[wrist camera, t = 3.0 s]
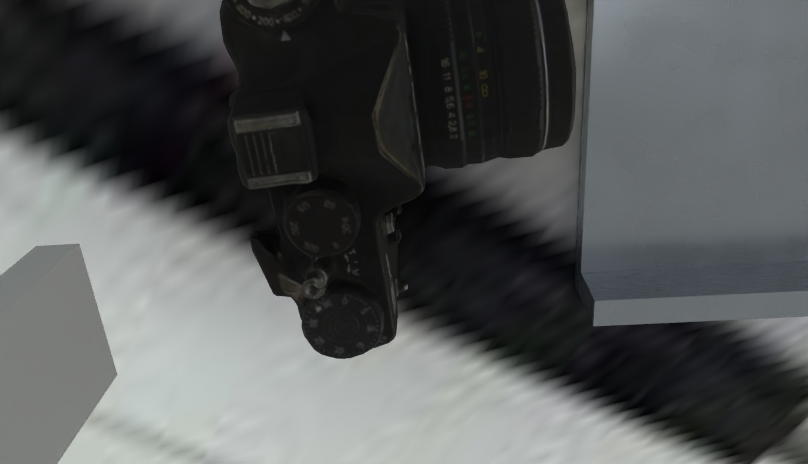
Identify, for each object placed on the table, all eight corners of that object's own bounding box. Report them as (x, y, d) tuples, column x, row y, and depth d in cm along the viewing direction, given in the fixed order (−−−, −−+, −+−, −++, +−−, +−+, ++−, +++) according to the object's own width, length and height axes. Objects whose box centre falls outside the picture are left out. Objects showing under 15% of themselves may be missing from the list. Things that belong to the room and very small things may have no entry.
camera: (547, 233, 30) (605, 367, 21) (312, 255, 30) (268, 395, 21) (538, -117, 24) (613, -143, 15) (248, -80, 25) (151, -84, 16)
